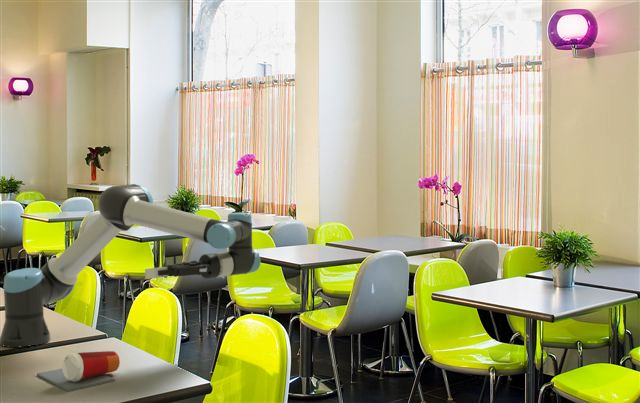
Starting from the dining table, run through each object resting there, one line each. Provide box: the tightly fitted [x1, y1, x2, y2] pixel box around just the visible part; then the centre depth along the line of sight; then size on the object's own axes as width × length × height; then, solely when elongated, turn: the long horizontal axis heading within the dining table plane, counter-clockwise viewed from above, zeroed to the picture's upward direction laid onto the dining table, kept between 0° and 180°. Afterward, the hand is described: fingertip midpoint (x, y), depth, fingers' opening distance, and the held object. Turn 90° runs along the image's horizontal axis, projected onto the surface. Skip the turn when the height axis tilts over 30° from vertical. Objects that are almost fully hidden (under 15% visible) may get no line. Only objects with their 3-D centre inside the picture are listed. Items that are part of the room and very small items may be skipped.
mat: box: [36, 368, 116, 392], centre depth 209 cm, size 20×13×1 cm, turn 42°
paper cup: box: [61, 350, 121, 382], centre depth 207 cm, size 8×8×14 cm
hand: (146, 274), depth 222 cm, fingers closed
